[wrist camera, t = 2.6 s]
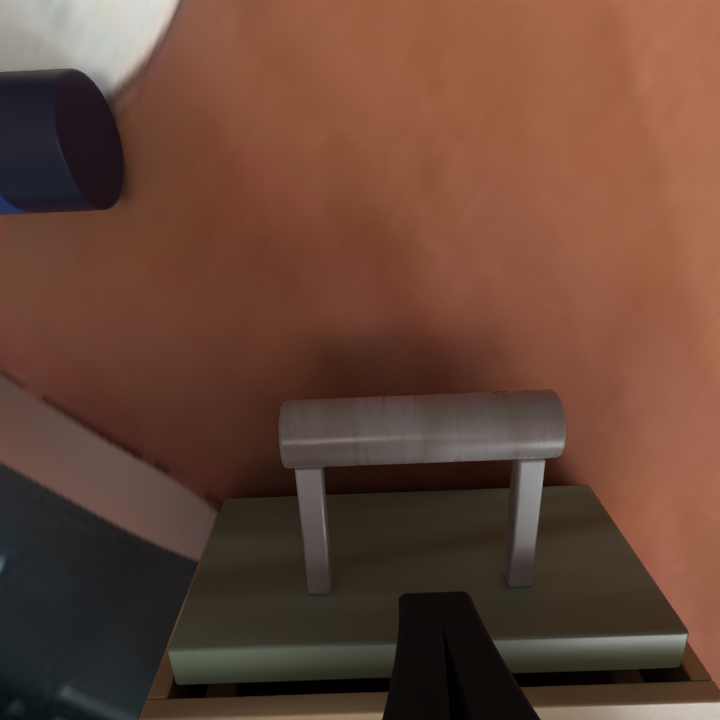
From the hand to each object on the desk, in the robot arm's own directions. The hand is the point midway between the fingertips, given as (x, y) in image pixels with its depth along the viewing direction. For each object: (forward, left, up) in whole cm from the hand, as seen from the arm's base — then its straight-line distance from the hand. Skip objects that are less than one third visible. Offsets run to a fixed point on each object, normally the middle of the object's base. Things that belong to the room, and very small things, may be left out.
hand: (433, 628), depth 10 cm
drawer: (+4, -3, -6) cm, 8 cm away
